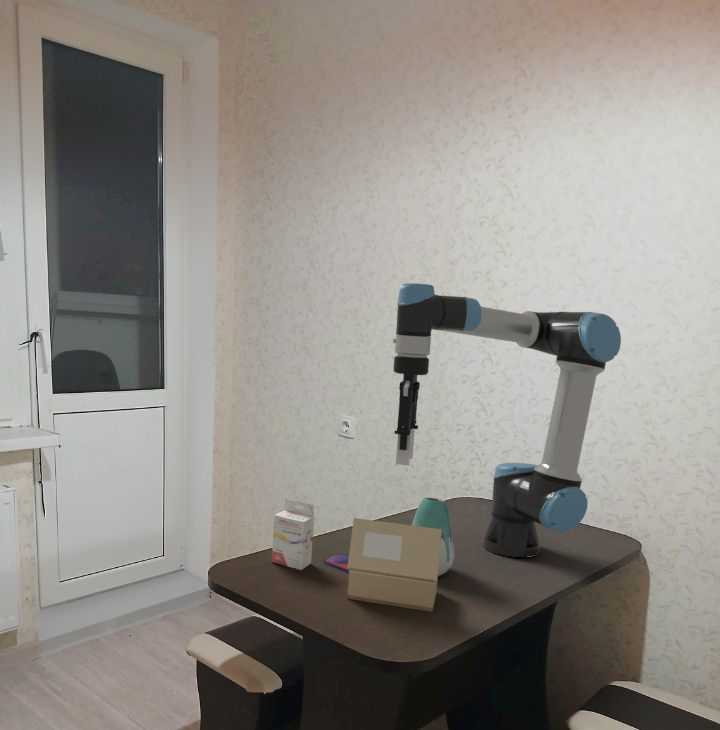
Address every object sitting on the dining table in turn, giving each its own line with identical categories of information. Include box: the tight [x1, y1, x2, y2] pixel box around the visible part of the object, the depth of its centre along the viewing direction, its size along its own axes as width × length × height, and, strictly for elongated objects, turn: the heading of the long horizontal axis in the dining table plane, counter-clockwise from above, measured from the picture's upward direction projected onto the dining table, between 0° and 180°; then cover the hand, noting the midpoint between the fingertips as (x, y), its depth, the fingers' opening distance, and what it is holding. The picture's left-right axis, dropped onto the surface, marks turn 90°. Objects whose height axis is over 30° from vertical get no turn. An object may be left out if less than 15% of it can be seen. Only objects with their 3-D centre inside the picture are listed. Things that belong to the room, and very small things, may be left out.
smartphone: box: [323, 553, 349, 574], centre depth 151 cm, size 7×15×1 cm, turn 51°
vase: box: [411, 497, 455, 577], centre depth 151 cm, size 12×12×18 cm
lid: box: [347, 517, 442, 583], centre depth 133 cm, size 19×11×1 cm
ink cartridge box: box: [271, 498, 315, 571], centre depth 150 cm, size 9×5×15 cm, turn 65°
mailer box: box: [347, 566, 439, 613], centre depth 137 cm, size 18×10×6 cm, turn 78°
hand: (404, 461), depth 138 cm, fingers open, 6 cm apart
